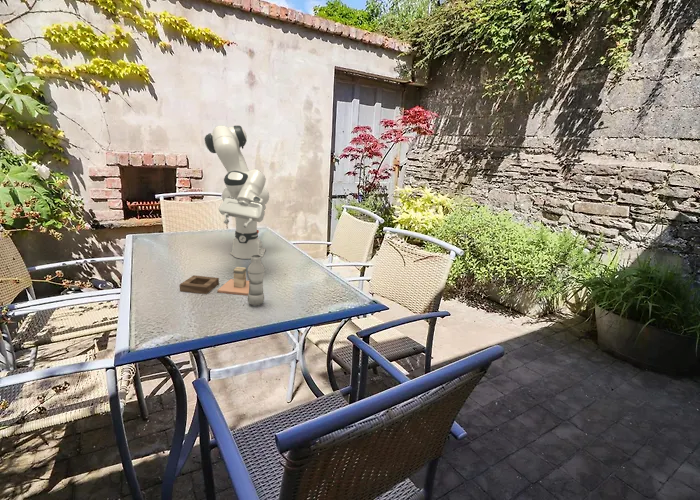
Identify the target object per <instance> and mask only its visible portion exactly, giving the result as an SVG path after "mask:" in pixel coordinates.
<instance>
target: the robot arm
mask: <svg viewBox="0 0 700 500" xmlns="http://www.w3.org/2000/svg"><path fill="white" fill-rule="evenodd" d="M247 139H248V138H247V133H246V131H245V129H244V128H243V127H242V126H241V125H233V126H229V127H228V126H227V125H217V126H215V127H214V128H213V130H212V132H211V133H208V134H206V135H205V136H204V144H205V147H206V148H207V150H208V151H209V153H212V154H216V155H217V157H218V159H219V161H220V162H221V163H222V165H223V166H224V169H225V171H226V172H227V173H226V174H225V176H224V178H223V182H224V185H225V186H226V188H224V189H223V190H222V193H221V199H222V202H221V204H220V206H219V207H218V211H219V213H220V214H221V215H222V216H224V220H223V223H224V224H226V225H229V222H230V220H229V218H230V217H232V218H235V231H234V232H235V233H234V235H235V236H234V237H235V238H234V239H233V240H232V249H231V250H232V251H230V252H229V254H230V255H232V256H233V257H235V258H236V259H241V260H251V256H252V255H260V256H261V258H264V255H265V253H266V248H264V247H262V245H263V244H262V243H263V242H262V240H261V239H260V238H259V232H260V231H259V229H257V227H258V226H257V224H258V223H261V222H262V221H263V220H264V218H265V214H266V208H267V207H266V205H267V204H268V203H269V200H270V194H269V191H268V189H267V188H266V187H265V185H266V182H267V181H266V180H267V179H266V176H265V174H264V173H263V172H262V171H261V170H259V169H255V168H254V169H251V170H249V167H248V165H247V161H246V159H245V157H244V155H243V153H242V152H241V148H242V150H243V149H244V147H245V146H246V144H247Z"/></svg>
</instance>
